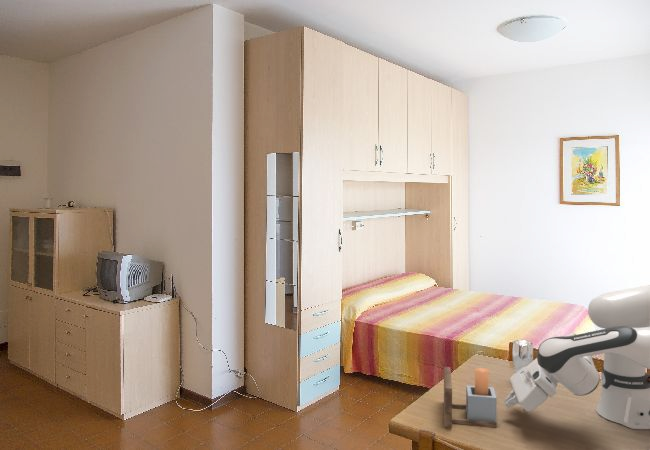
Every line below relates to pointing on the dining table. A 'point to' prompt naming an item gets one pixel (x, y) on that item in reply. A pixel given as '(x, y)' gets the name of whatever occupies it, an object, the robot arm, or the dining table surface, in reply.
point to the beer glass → (522, 354)
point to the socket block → (481, 405)
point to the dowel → (481, 381)
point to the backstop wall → (456, 406)
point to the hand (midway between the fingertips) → (506, 404)
